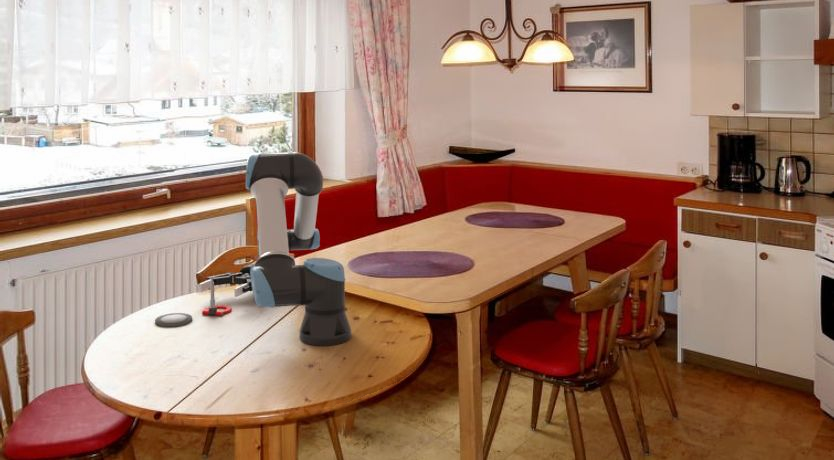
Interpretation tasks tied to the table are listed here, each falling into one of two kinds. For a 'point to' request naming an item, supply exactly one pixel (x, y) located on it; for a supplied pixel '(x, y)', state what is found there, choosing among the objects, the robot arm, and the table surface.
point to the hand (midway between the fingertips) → (217, 290)
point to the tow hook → (213, 309)
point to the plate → (173, 320)
